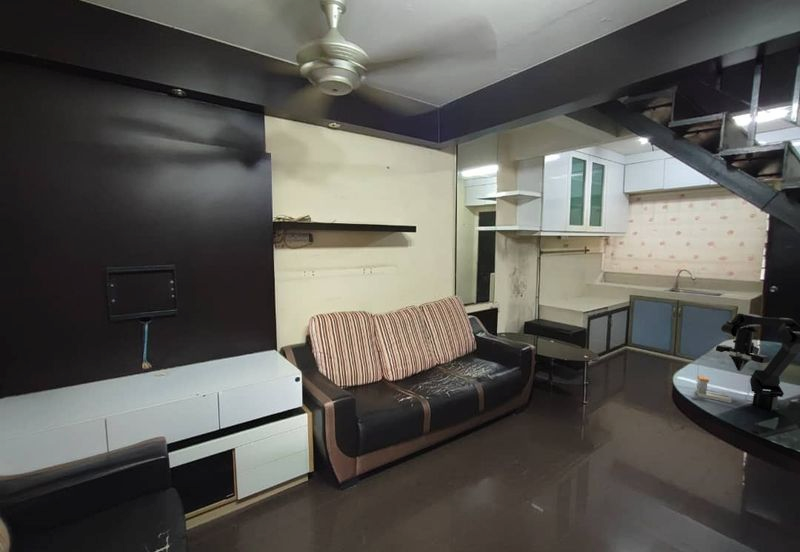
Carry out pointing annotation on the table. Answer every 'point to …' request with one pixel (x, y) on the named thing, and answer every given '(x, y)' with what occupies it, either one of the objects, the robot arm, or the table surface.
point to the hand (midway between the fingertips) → (739, 370)
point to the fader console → (714, 396)
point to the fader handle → (702, 383)
